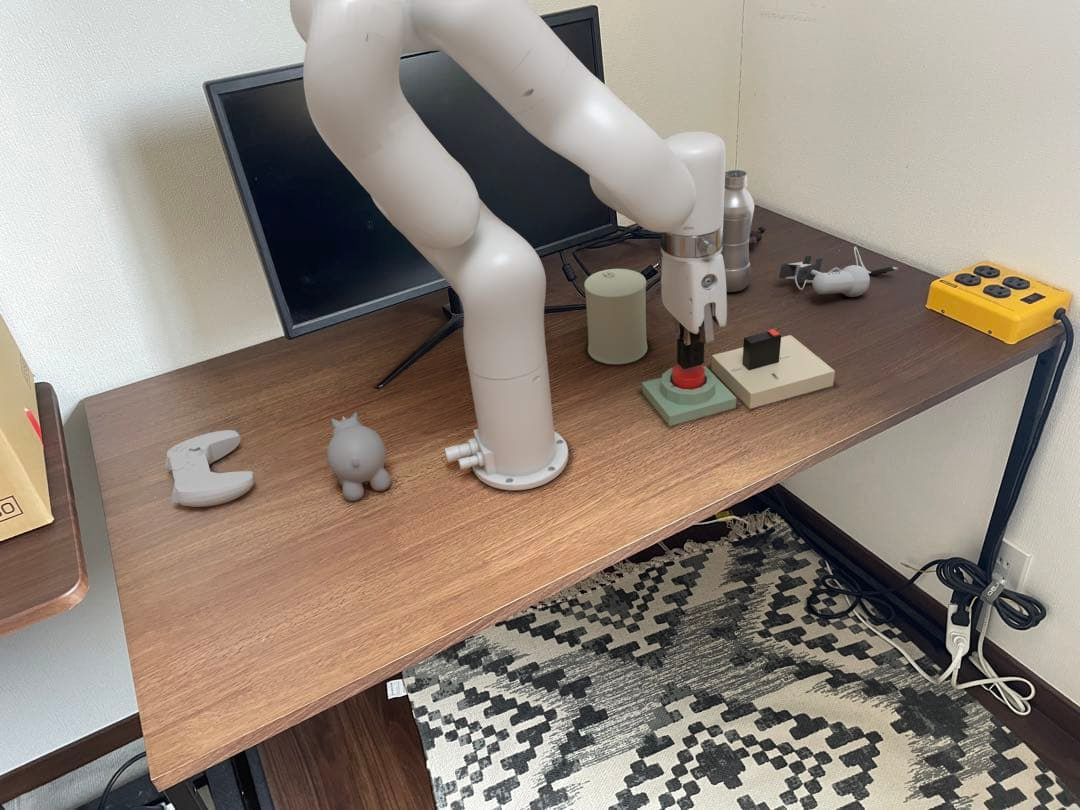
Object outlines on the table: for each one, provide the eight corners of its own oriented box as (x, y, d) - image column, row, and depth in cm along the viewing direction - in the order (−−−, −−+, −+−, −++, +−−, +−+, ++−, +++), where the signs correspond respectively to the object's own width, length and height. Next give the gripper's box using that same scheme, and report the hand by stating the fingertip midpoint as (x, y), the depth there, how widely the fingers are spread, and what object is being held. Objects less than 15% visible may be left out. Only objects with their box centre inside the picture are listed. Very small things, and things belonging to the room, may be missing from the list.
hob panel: (749, 409, 110) (750, 392, 108) (711, 369, 118) (711, 354, 117) (833, 385, 112) (835, 369, 111) (789, 349, 121) (790, 333, 119)
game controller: (257, 476, 102) (171, 492, 97) (260, 504, 104) (176, 521, 99) (236, 420, 113) (158, 432, 108) (239, 447, 115) (162, 460, 110)
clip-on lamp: (849, 277, 144) (772, 284, 136) (857, 242, 141) (779, 246, 133) (903, 296, 134) (823, 304, 127) (912, 259, 132) (832, 265, 124)
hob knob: (748, 370, 113) (750, 342, 110) (742, 364, 114) (743, 336, 111) (779, 362, 114) (781, 333, 111) (772, 356, 115) (774, 327, 112)
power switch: (669, 426, 108) (669, 405, 106) (641, 392, 115) (641, 371, 113) (736, 408, 110) (737, 386, 108) (705, 375, 117) (705, 355, 115)
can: (632, 328, 130) (631, 260, 123) (657, 355, 123) (657, 284, 116) (579, 342, 128) (574, 273, 121) (601, 370, 121) (597, 299, 114)
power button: (680, 393, 109) (681, 382, 108) (666, 377, 112) (666, 366, 111) (710, 385, 109) (710, 374, 108) (695, 369, 113) (695, 359, 112)
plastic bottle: (750, 297, 135) (758, 180, 124) (709, 296, 137) (713, 181, 125) (750, 279, 140) (757, 166, 129) (710, 279, 142) (714, 167, 130)
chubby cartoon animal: (379, 440, 111) (366, 389, 106) (398, 492, 102) (385, 439, 97) (327, 455, 109) (312, 404, 105) (341, 509, 100) (325, 456, 95)
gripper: (750, 254, 94) (743, 384, 104) (691, 211, 105) (690, 332, 116) (691, 268, 92) (690, 399, 103) (638, 223, 104) (642, 345, 114)
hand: (690, 363), depth 109 cm, fingers closed
